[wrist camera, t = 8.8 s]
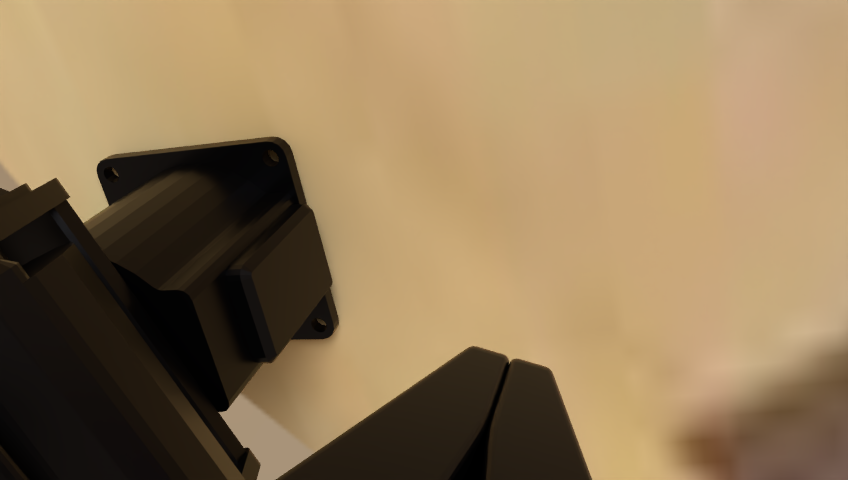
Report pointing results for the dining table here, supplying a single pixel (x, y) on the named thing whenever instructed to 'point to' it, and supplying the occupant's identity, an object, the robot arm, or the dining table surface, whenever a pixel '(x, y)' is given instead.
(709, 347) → the dining table surface
